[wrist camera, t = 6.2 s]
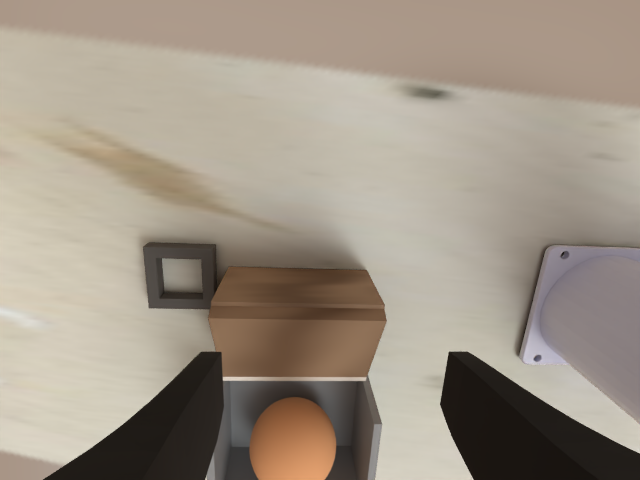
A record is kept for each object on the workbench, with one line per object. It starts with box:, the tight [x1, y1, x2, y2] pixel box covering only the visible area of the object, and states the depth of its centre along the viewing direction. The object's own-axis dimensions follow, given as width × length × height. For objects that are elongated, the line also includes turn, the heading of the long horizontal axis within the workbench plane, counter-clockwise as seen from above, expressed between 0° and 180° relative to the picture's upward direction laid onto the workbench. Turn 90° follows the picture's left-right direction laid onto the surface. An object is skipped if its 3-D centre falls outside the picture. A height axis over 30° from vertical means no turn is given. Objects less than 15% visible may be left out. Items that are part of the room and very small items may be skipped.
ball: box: [249, 397, 336, 480], centre depth 20 cm, size 5×5×5 cm
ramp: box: [208, 267, 387, 381], centre depth 19 cm, size 8×6×5 cm
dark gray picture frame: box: [143, 243, 217, 309], centre depth 20 cm, size 4×4×1 cm
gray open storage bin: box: [207, 374, 382, 480], centre depth 21 cm, size 9×7×5 cm
